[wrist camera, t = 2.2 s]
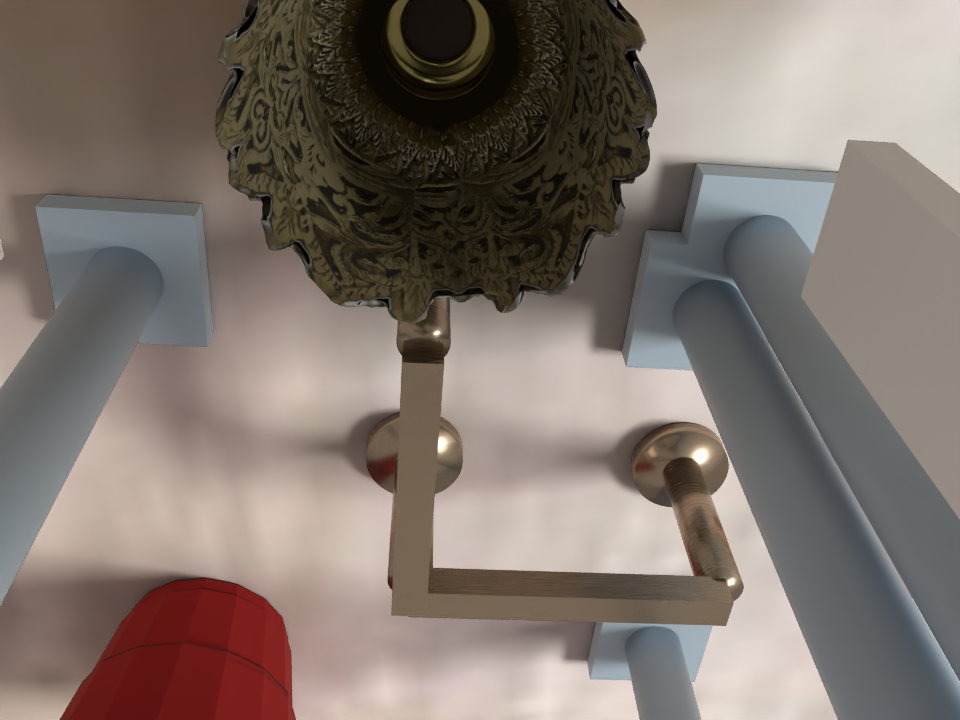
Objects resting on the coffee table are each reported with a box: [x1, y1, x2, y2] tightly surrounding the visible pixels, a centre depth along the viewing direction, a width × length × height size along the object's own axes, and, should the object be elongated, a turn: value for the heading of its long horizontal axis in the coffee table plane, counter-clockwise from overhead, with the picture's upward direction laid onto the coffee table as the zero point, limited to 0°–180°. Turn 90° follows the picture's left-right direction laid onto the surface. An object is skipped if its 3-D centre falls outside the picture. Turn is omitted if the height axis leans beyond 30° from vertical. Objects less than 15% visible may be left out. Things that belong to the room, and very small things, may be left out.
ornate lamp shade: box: [215, 0, 657, 324], centre depth 19 cm, size 8×7×8 cm
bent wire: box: [366, 298, 744, 626], centre depth 25 cm, size 10×12×6 cm
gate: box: [0, 194, 960, 720], centre depth 16 cm, size 4×20×24 cm, turn 85°
